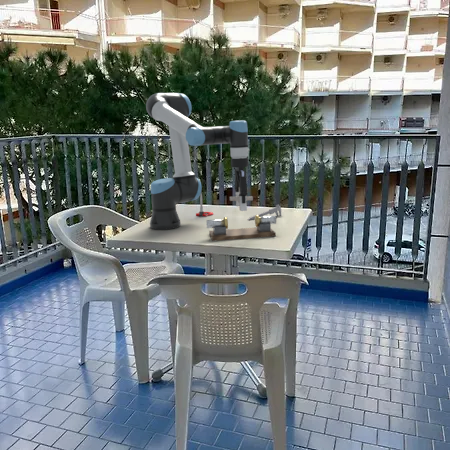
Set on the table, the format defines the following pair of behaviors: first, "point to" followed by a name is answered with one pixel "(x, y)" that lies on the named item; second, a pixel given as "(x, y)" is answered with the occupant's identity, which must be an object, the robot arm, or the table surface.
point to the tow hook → (202, 209)
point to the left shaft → (218, 226)
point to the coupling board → (241, 234)
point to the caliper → (269, 212)
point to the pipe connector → (249, 198)
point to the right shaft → (264, 223)
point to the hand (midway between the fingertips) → (241, 208)
